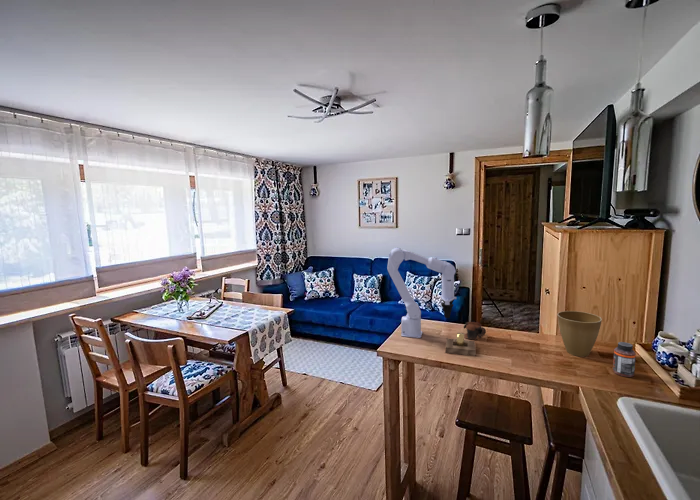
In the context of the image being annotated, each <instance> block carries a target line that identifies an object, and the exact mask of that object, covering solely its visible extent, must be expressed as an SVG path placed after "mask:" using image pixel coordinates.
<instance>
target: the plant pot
mask: <svg viewBox="0 0 700 500" xmlns="http://www.w3.org/2000/svg"><path fill="white" fill-rule="evenodd" d="M556 316H557V321H558V322H557V323H558V328H559V332H560V335H561V339H562V342H563V345H564V348H565V351H566V352H567V353H568V354H569V355H571V356H574V357H575V356H576V357H580V358H581V357H582V358H585V357H589V355H590V354H591V352H592V350H593V348H594V346H595V344H596V341H597V339H598V336H599V333H600V331H601V324H602V322H603V321H602V320H603V319H602V317H601V316H599V315H597V314H593V313H589V312H586V311H577V310H563V311H559V312H557V315H556Z"/></svg>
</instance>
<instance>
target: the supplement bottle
mask: <svg viewBox="0 0 700 500" xmlns="http://www.w3.org/2000/svg"><path fill="white" fill-rule="evenodd" d="M633 347H634V346H633V344H631V343H630V342H625V341H619V342H618V343H617V346H616V347H615V348H614V350H613V363H612V370H613V373H614V374H616V375H619V376H621V377H624V378H632V377H634V376H635V371H636V366H635V365H636V356H637V355H636V351H634V350H633Z"/></svg>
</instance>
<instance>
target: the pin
mask: <svg viewBox="0 0 700 500" xmlns="http://www.w3.org/2000/svg"><path fill="white" fill-rule="evenodd" d="M464 334H465V333H462V332H457V333H456V339H457V346H464V340H465V338H464Z"/></svg>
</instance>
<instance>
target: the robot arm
mask: <svg viewBox="0 0 700 500" xmlns="http://www.w3.org/2000/svg"><path fill="white" fill-rule="evenodd" d="M409 260H411V261H415V262H417V263H420V264H422V265H423V264H424V265H425V266H426V268H427V269H429V270H432V271H435V272H437V273H439V274H440V273H441V297H440V298H441V300H442V302H441V303H440V305H441V307H442V309H443V310H442V311H443V314H444V315H443V316H444V318H445V319H450V318H451V315H452V314H451V313H452V309H453V308H454V305H455V304H454V303H453V302H454V301H455V300H457V296H455V275H456V272H457V270H456V268H455V266H454V265H453V264H451V263H450V262H447V260H441V259H438V257H436V256H433V257H432V256H430V257H425V256H423V255H421V254H418V253H415V252H413V251H411V250H408V249H404V248H402V249H401V248H400V247H393V248H392V249H391V250H390V251H389V254H388V260H387V267H386V268H387V272H388V274H389V276H390V278H391V279H392V282H393V284H394V285H395V288H396V290H397V291H398V294H399V295H400V297H401V299H402V301H403V303H404V305H405V310H406V312H407V313H406V315H404V316H402V317H401V319H400V320H401V322H400V324H401V325H400V327H401V328H400V331H401V335H400V336H401V337H405V338H415V339H419V338H420V339H421V338H422V335H423V331H422V317H421V316H422V311H421V309H420V307H419V304H418V303H417V302H416V301H415V300H414V299H413V297H412V295H411V293H410V291H409V289H408V288H407V285H406V283H405V281H404V279H403V278H402V276H401V274H400V271H399V267H400V265H401V264H402V262H403V261H409Z"/></svg>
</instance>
